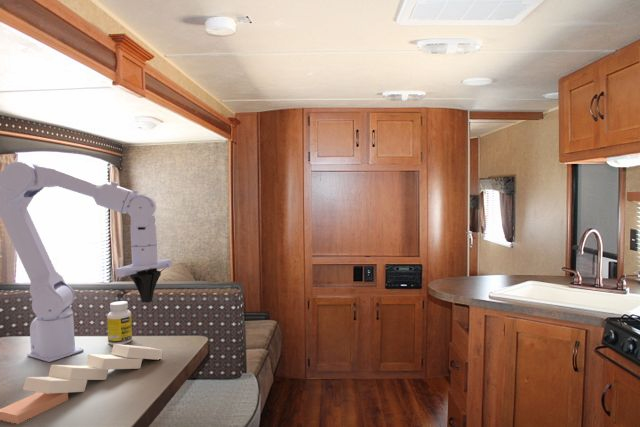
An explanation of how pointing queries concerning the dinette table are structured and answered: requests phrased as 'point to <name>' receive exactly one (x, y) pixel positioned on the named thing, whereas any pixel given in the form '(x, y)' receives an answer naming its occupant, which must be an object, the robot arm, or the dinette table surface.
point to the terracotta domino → (31, 406)
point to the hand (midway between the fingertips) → (146, 301)
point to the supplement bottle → (119, 323)
